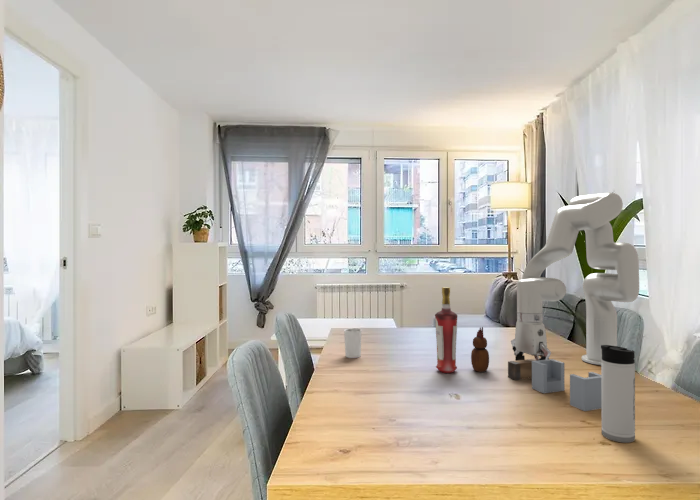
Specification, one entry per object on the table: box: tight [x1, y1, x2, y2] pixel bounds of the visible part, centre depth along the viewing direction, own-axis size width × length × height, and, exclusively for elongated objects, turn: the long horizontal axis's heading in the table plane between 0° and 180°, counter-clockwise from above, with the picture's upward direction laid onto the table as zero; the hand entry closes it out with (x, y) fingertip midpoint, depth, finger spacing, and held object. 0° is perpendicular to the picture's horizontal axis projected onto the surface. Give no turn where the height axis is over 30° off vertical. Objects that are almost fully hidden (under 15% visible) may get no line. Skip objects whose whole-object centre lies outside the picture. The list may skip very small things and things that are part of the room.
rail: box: [507, 358, 536, 381], centre depth 142 cm, size 3×14×5 cm, turn 108°
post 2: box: [569, 371, 602, 412], centre depth 115 cm, size 7×5×8 cm, turn 108°
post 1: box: [531, 358, 566, 394], centre depth 129 cm, size 7×5×8 cm, turn 108°
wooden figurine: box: [470, 326, 490, 373], centre depth 149 cm, size 7×6×15 cm
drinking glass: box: [343, 327, 362, 359], centre depth 170 cm, size 7×7×10 cm
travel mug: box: [600, 345, 636, 444], centre depth 97 cm, size 6×7×20 cm
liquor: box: [434, 286, 458, 374], centre depth 148 cm, size 7×7×28 cm
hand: (529, 371), depth 142 cm, fingers open, 8 cm apart
